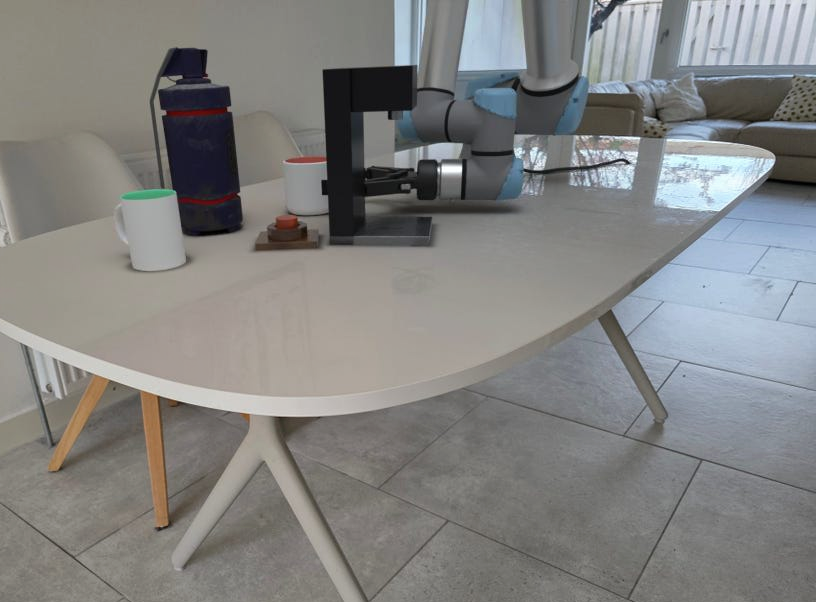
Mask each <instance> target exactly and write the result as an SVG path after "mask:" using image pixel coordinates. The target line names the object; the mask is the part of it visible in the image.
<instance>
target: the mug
mask: <svg viewBox="0 0 816 602" xmlns="http://www.w3.org/2000/svg"><path fill="white" fill-rule="evenodd" d="M119 202H120V203H119V204H117V205H116V206H115V208H114V213H113V220H114V227H115V230H116V232H117V235H118V237H119V238H120V240H121V241H122V243H123V244H125V245H126V246H128V249H129V255H130V260H131V265H132V266H131V267H132V268H133V269H134V270H137V271H143V272H154V271H156V272H157V271H165V270H170V269H174V268H178V267H180V266H182V265H184V264H186V262H187V256H186V249H185V244H184V236H183V230H182V229H183V228H181V222H180V215H179V208H178V202H177V195H176V191H174V190H173V189H165V188H164V189H162V188H157V189H144V190H136V191H135V190H134V191H130V192H127V193H124V194H121V195H120V196H119Z"/></svg>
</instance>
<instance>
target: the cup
mask: <svg viewBox="0 0 816 602" xmlns="http://www.w3.org/2000/svg"><path fill="white" fill-rule="evenodd" d="M282 165H283V180H284V181H283V182H284V194H285V195H284V196H285V207H286V209H287V211H288V212H289V213H290V214H292V215H295V216H304V217H305V216H306V217H307V216H308V217H311V216H320V215H325V214H329V210H328V195H322V187H321V180H327V164H326V156H321V155H320V156H319V155H318V156H317V155H316V156H315V155H314V156H311V155H310V156H298V157H291V158H286V159H284V160H283V161H282Z"/></svg>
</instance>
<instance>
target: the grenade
mask: <svg viewBox="0 0 816 602" xmlns="http://www.w3.org/2000/svg"><path fill="white" fill-rule="evenodd" d="M208 53H209V50H208V49H207V48H206V49H205V48H197V47H181V48H179V47H178V46H176V47H171V48H168V49H167V52H166V54H165V56H164V58H163V60H162V63H161V65H160V67H159V69H158V71H157V74H156V76H155V77H156V78H155V80H154V82H153V83H154V84H153V87H152V91H151V94H150V98H149V107H150V115H151V124H152V131H153V138H154V145H155V146H154V147H155V153H156V161H157V169H158V175H159V183H160V184H159V185H160V187H161V188H160V189H165V188H166V186H165V179H164V171H163V164H162V155H161V148H160V141H159V140H160V139H159V133H158V126H157V124H158V123H157V118H156V110H155V102H154V101H155V99H156V95H157V94H158V101H159V107H160V111H165V112H166V113H165V114H163V115H161V122H162V128H163V135H164V140H165V141H164V142H165V149H166V154H167V163H168V167H169V168H168V169H169V175H170V181H171V190H174V191H176V195H177V202H178V208H179V215H180V222H181V229H184V230H185V231H186V234H187V235H188V236H192V237H199V236H200V235H201V232H213V231H214V232H215V231H220V230H221V231H222V230H227V232H228V233H234V232H236V231H238V230H239V229H240V228H239V227H240V226H239V224H241V223H242V222H243V221H244V216H243V207H242V196H241V195H239V194H240V193H241V184H240V175H239V174H240V173H239V164H238V155H237V146H236V145H237V144H236V138H235V137H236V136H235V126H234V116H233V115H234V114H233V112H232V111H228V108H230V107H232V98H231V88H230V86H229V85H220V84H217V83H213V82H212V79H210V78H208V77H209V74H208V73H207V67H208V66H207V64H208ZM179 76H181V78H178V79H172V78H171V77H179ZM165 77H166V78H167V80H169V81H171V82H172V83H175V84H173V85H170V86H167V87H165V88H160V89H159V86H160V83H161V82H160V81H161V79H162V78H165Z"/></svg>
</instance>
